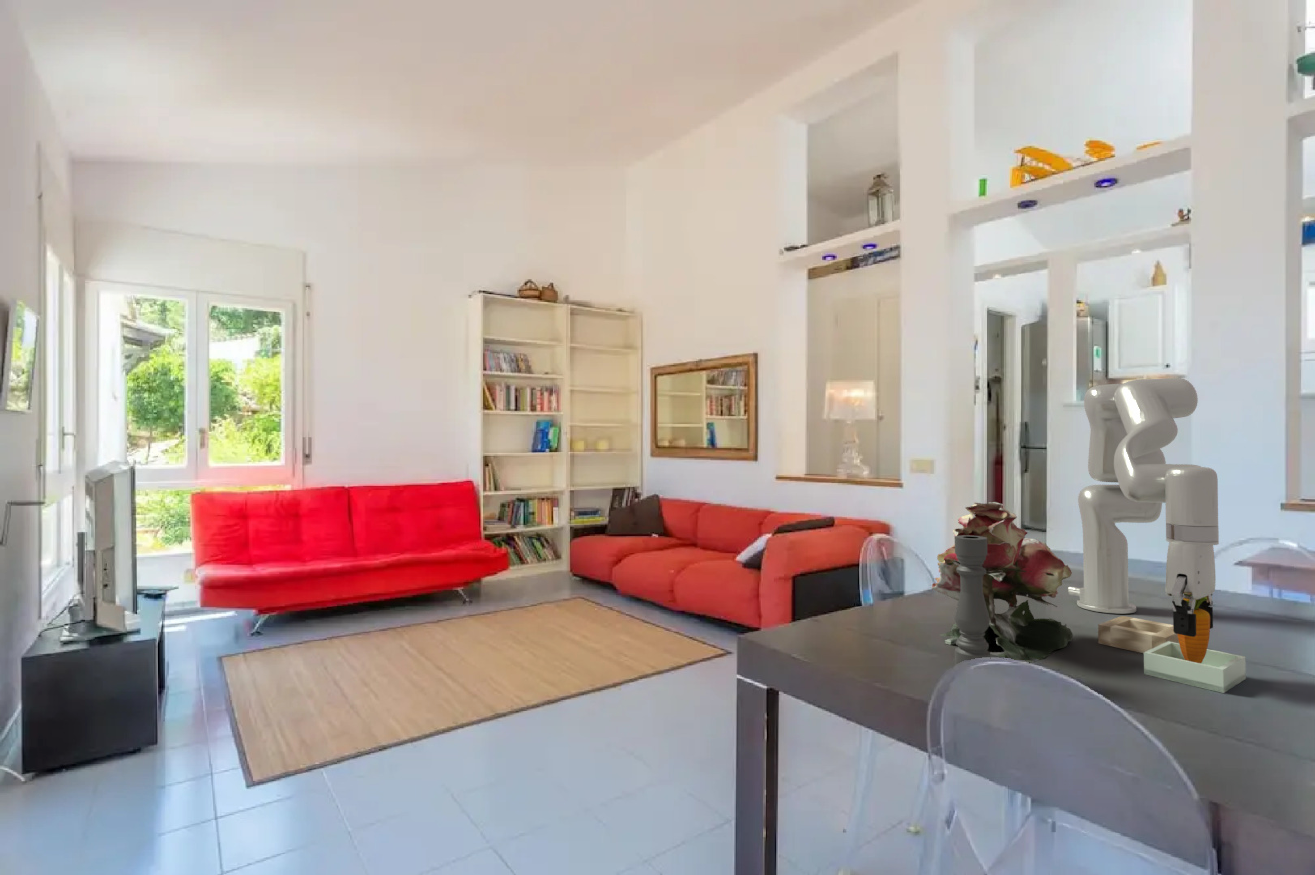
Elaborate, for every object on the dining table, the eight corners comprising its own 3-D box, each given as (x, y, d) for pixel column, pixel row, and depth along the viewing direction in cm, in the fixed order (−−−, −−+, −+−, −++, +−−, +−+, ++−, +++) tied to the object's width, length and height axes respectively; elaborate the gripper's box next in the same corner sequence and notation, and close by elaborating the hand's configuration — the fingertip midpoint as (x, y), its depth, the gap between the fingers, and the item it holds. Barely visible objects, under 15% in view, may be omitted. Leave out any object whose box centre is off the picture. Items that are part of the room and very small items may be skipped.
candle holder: (948, 663, 130) (946, 535, 130) (979, 662, 131) (977, 534, 131) (966, 674, 124) (964, 540, 124) (997, 673, 125) (995, 539, 125)
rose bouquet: (1083, 638, 146) (1081, 501, 146) (1029, 669, 127) (1027, 511, 127) (966, 616, 165) (964, 495, 166) (904, 639, 147) (902, 502, 147)
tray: (1144, 674, 123) (1143, 652, 123) (1168, 661, 130) (1168, 641, 130) (1223, 693, 114) (1223, 669, 114) (1245, 679, 120) (1245, 656, 120)
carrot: (1206, 668, 123) (1205, 586, 123) (1215, 677, 119) (1214, 592, 119) (1173, 664, 125) (1172, 584, 125) (1180, 673, 121) (1179, 590, 121)
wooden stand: (1098, 643, 142) (1098, 624, 142) (1122, 633, 149) (1122, 615, 149) (1165, 658, 132) (1165, 637, 132) (1188, 647, 139) (1188, 627, 139)
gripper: (1184, 528, 130) (1186, 619, 130) (1148, 536, 120) (1149, 634, 120) (1234, 532, 124) (1235, 627, 124) (1199, 541, 114) (1201, 644, 114)
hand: (1193, 630), depth 122 cm, fingers open, 7 cm apart
